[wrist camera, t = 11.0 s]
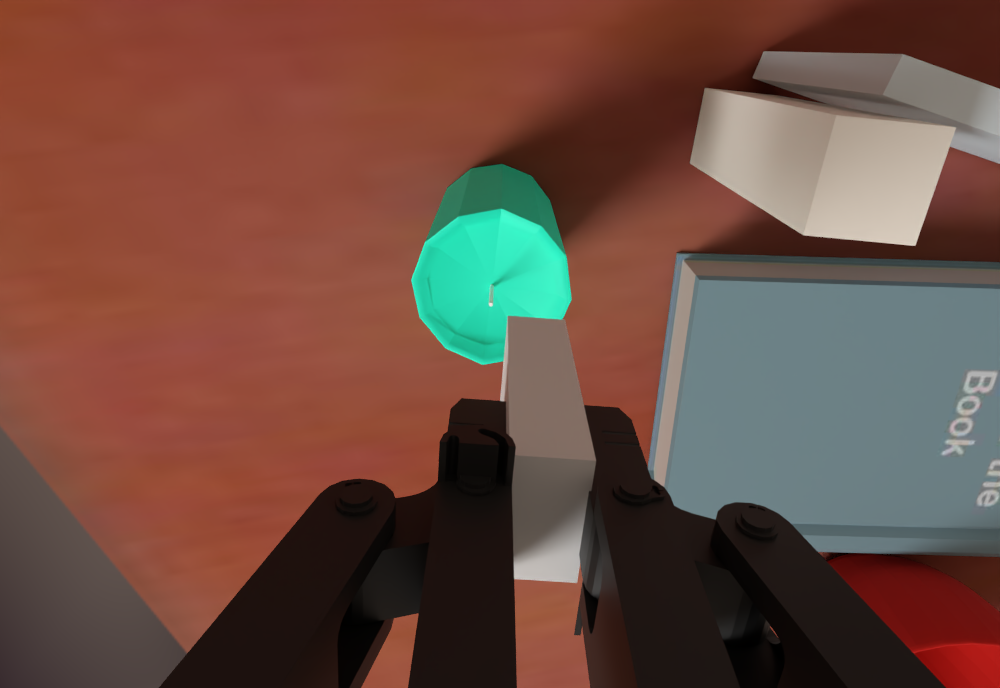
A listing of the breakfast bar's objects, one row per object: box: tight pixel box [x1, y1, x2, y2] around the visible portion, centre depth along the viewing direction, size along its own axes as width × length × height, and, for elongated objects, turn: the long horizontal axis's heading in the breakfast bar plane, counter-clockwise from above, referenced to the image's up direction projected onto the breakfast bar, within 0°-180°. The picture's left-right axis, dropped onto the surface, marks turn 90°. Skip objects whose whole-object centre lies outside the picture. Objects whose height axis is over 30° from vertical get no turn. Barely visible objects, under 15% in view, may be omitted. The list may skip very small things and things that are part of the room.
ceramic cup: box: [827, 553, 1000, 688], centre depth 41 cm, size 13×17×10 cm
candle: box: [411, 164, 571, 365], centre depth 30 cm, size 6×6×12 cm
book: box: [648, 253, 1000, 557], centre depth 37 cm, size 23×16×5 cm
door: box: [753, 51, 1000, 164], centre depth 27 cm, size 16×3×12 cm, turn 73°
